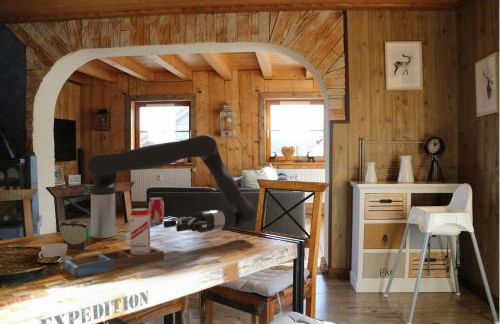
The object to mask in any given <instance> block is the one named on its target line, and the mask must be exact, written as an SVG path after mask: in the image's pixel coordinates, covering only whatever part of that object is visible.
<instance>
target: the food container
mask: <svg viewBox="0 0 500 324" xmlns="http://www.w3.org/2000/svg"><path fill="white" fill-rule="evenodd" d="M92 227H93V226H92V222H91V219H78V218H77V219H66V220H60V222H59V228H60V229H61V231H60V232H61V240H62V243H61V244H67V251H72V252H78V253H79V252H80V253H86V252H88V251H89V249H90V239H91V228H92Z"/></svg>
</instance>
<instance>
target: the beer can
mask: <svg viewBox="0 0 500 324" xmlns="http://www.w3.org/2000/svg"><path fill="white" fill-rule="evenodd" d="M129 232H130V233H129V245H130V246H129V249H130V255H132V256H138V255H143V254H149V253H150V246H151V223H150V213H149V207H148V208H146V207H136V208H135V207H134V208H132V209H131V212H130V215H129Z"/></svg>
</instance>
